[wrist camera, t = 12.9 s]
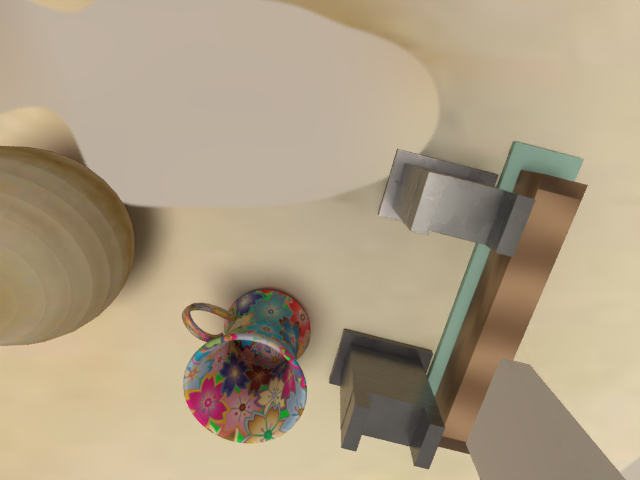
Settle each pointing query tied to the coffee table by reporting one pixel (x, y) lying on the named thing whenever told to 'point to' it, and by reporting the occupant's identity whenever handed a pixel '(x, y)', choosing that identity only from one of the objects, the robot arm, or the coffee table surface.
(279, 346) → the mug
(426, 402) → the post
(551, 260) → the rail
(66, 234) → the decorative ball
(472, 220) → the post
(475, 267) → the mat
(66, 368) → the coffee table surface
